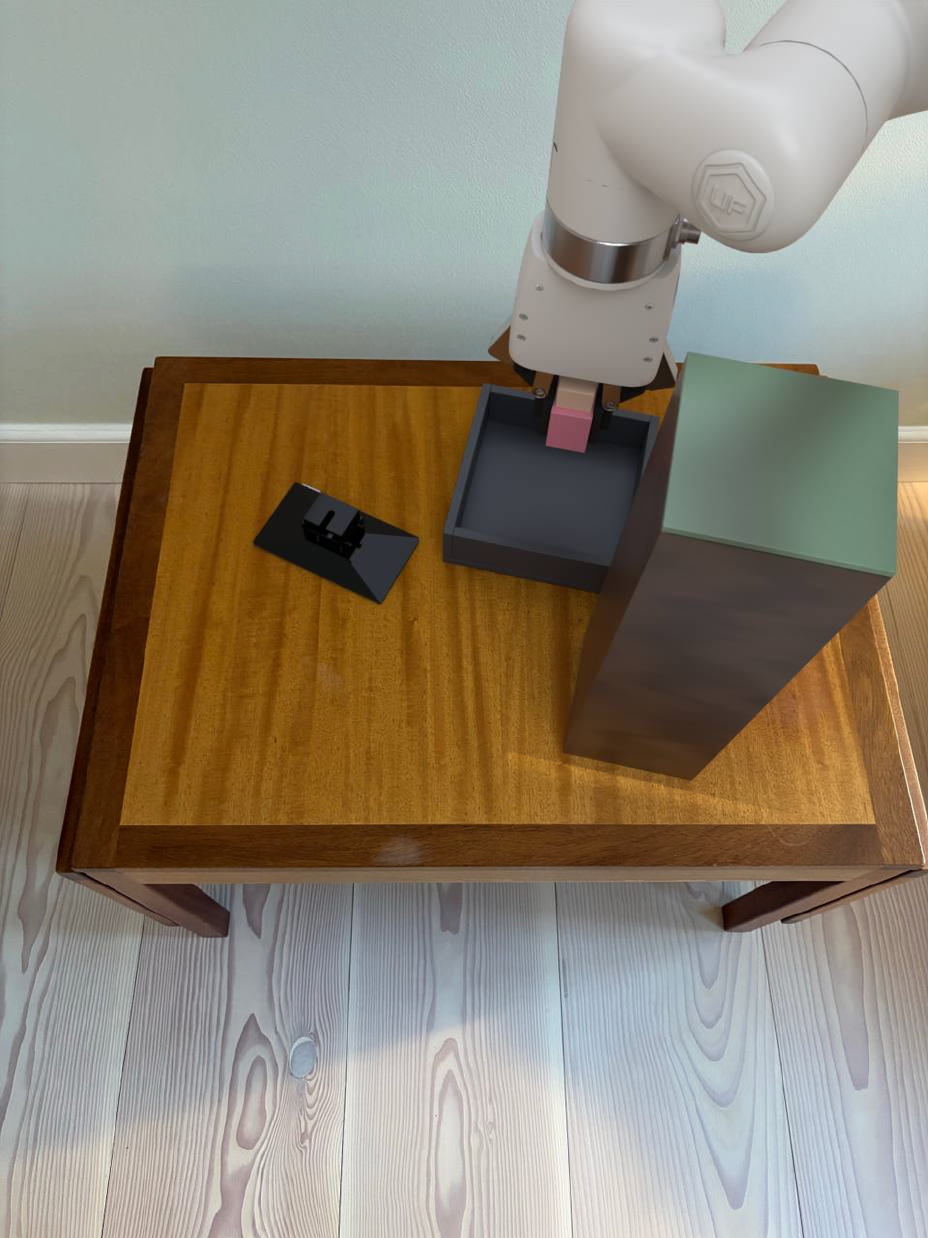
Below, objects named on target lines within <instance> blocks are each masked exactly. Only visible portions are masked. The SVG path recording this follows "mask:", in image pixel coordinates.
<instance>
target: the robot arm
mask: <svg viewBox="0 0 928 1238" xmlns="http://www.w3.org/2000/svg"><path fill="white" fill-rule="evenodd" d="M726 26H727V25H726V19H725V13H724V10H723V8H722V6H721V4H720V2H719V0H574V2H573V4H572V6H571V8H570V11H569V14H568V17H567V20H566V25H565V31H564V37H563V43H562V52H561V54H562V55H561V60H560V61H561V63H560V71H559V81H558V88H557V90H558V91H557V97H556V107H555V115H554V122H553V123H554V125H553V132H552V133H553V134H552V143H551V150H550V161H549V169H548V179H547V188H546V195H545V203H544V209H543V210H542V211H540V212H539V213H538V214H537V215H536V216H535V218H534V220H533V222H532V224H531V227H530V230H529V233H528V236H527V238H526V243H525V246H524V249H523V254H522V258H521V263H520V267H519V273H518V278H517V284H516V290H515V294H514V300H513V301H514V302H513V309H512V314H510V316H509V317H508V318H507V319H506V320H505V321H504V322H503V323H502V324H501V325H500V327H499V328H498V329H497V330H496V331H495V332H494V333H493V334H492V336H491V338H490V342H489V344H488V349H487V353H488V354H489V355H490V356H491V357H493V358H494V359H496V360H498V361H499V362H501V363H503V364H504V365H507V366H509V367H510V366H511V367H512V369H513V371H514V372H515V373H516V375H518V376H519V377H520V378H521V379H522V380H523V381H524V382H525V383H526V384H528V386H530V388H531V389H530V392H531V394H532V395H533V396H534V397H535V402H534V410H533V417H537V418H541V422H540V429H539V435H544V436H545V435H546V434H548V427H549V421H550V415H551V410H552V407H553V403H554V399H555V394H556V390H557V385H558V381H559V376H560V375H561V376H566V377H572V378H577V379H583V380H589V381H594V382H599V384H598V389H597V394H596V400H595V405H594V410H593V418H592V423H591V427H590V432H589V436H588V440H587V442H589V444H593V445H596V440H597V436H598V432H599V429H602V430H608V429H609V425H610V421H611V417H612V414H613V411H616V410H617V409H620V404H623V403H624V402H627V401H630V400H633V399H634V398H637V397H640V396H642V395H644V393H645V392H646V391H649V392H653V391H655V392H656V391H660V390H667V389H671V388H675V385H676V382H677V380H678V374H679V368H678V365H677V363H676V360H675V357H674V355H673V353H672V351H671V348H670V346H669V343H668V340H667V338H668V334H669V331H670V326H671V322H672V317H673V314H674V307H675V303H676V299H677V294H678V288H679V281H680V275H681V267H682V251H683V249H682V245H685V244H686V243H687V244H693V245H699V242H700V239H701V234H702V233H703V234H705V235H706V236H707V237H710V238H711V239H712V240H714V241H715V242H718V243H719V244H721V245H723V246H725V247H727V248H730V249H732V250H736V251H739V252H742V253H747V254H769V253H773V252H777V251H780V250H783V249H785V248H788V247H789V246H791V245H793V244H795V243H796V242H797V241H799V240H800V239H801V238H803V237H804V236H805V235H806V234H807V233H808V232H809V231H810V230H811V229H812V228H813V227H814V225H816V224H817V222H818V221H819V220H820V219H821V217H822V216H823V215H824V213H825V212H826V210H827V209H828V207H829V205H830V204H831V202H832V201H833V200H834V198H835V197H836V195H838V194H837V193H838V192H839V191H840V189H841V188H842V187H843V185H844V183H846V181H847V179H848V178H849V176H850V175H851V173H852V171H853V170H854V169H855V167H856V166H857V165H858V163H859V161H860V160H861V159H862V157H863V155H864V154H865V153H866V151H867V150H868V148H869V146H870V145H871V144H872V142H873V141H874V139H875V138H876V136H877V135H878V133H879V131H880V130H881V129H882V128H883V126H884V125H885V123H886V122H889V121H892V120H895V119H898V118H902V117H905V116H909V115H914V114H917V113H922V112H927V111H928V0H786V1H785V2H784V3H783V4H782V5H781V6H780V7H779V8H778V9H777V11H776V12H775V13H774V14H773V15H772V16H771V17H770V18H769V19H768V20H767V21H766V23H765V24H764V25H763V26H762V27H761V28H760V30H759V31H758V32H757V33H756V34H755V35H754V37H753V38H751V40H750V41H749V43H748V44H747V45H746V46H745V47H744V48H743V50H742V51H741V52H737V53H733V54H730V53H728V52H726V50H725V47H726V43H727V41H726V40H727V27H726Z"/></svg>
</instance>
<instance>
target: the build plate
mask: <svg viewBox="0 0 928 1238" xmlns="http://www.w3.org/2000/svg"><path fill="white" fill-rule="evenodd" d="M252 543H253V545H254V547H256V548H259V549H260V550H264V551H265V552H267V553H269V554H272V555H274V556H275V557H278V558H280V559H282V560H284V561H287V563H288V562H289V563H291V564H292V565H295V566H296V567H299V568H301V569H303V570H305V571H308V572H309V573H312V574H314V575H316V576H317V577H321V578H322V579H324V580H327V581H328V582H331V583H332V584H334V585H337V586H339V587H341V588H343V589H345V590H348V591H350V592H352V593H354V594H356V595H359V596H361V597H363V598H365V599H366V600H369V601H371V602H373V603H375V604H378V605H381V604H382V603H383V602H384V600H385V598H386V597H387V595H388V594H389V592H390V591H391V589H392V587H393V585H394V584H395V582H396V581H397V579H398V578H399V576H400V574H401V572H402V571H403V569H404V568H405V566H406V565H407V563H408V561H409V559H410V558H411V556H412V555H413V553H414V551H415V550H416V548H417V546H418V544H419V543H420V537H419V536H417V535H414V534H413V533H410V532H409V531H406V530H404V529H401V528H399V527H397V526H394V525H393V524H390V523H388V522H386V521H384V520H381V519H380V518H377V517H375V516H373V515H371V514H368V513H366V512H363V511H361V510H360V509H359V508H357V507H355V506H353V505H350V504H348V503H346V502H343V501H342V500H340V499H338V498H335V497H333V496H330V495H329V494H326V493H324V492H322V491H320V490H319V489H316V488H314V487H312V486H310V485H307V484H306V483H300V482H297V481H296V482H293V484H292V485H291V487H290V488H289V490H288V491H287V492H286V493H285V495H284V496H283V498H282V499H281V501H280V502H279V504H278V505H277V506H276V508H275V509H274V511H273V512H272V513H271V515H270V516H269V517H268V519H267V521H266V522H265V523H264V525H263V526H262V528H261V529H260V530H259V532H258V533H257V534H256V536H255V538H254V539H253V541H252Z"/></svg>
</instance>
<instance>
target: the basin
mask: <svg viewBox="0 0 928 1238" xmlns="http://www.w3.org/2000/svg"><path fill="white" fill-rule="evenodd" d="M534 402H535V397H534V396H533V395H532V394H531V391H528V390H523V389H517V388H512V387H506V386H502V385H497V384H491V383H485V382H483V383H482V385H481V389H480V392H479V396H478V400H477V404H476V406H475V411H474V413H473V418H472V423H471V425H470V430H469V434H468V437H467V440H466V444H465V448H464V452H463V455H462V458H461V459H462V460H461V463H460V467H459V471H458V475H457V478H456V482H455V486H454V490H453V493H452V497H451V500H450V505H449V509H448V512H447V516H446V520H445V523H444V527H443V532H442V562H443V563H448V564H452V565H457V566H461V567H467V568H472V569H475V570H476V569H477V570H482V571H486V572H491V573H495V574H496V573H497V574H501V575H505V576H511V577H515V578H520V579H526V580H530V581H533V582H534V581H535V582H540V583H545V584H550V585H554V586H560V587H564V588H569V589H573V590H579V591H583V592H588V593H593V594H598V595H599V594H600V591H601V588H602V586H603V583H604V580H605V577H606V575H607V572H608V569H609V566H610V564H611V561H612V558H613V555H614V553H615V550H616V547H617V544H618V542H619V539H620V536H621V533H622V531H623V528H624V525H625V522H626V520H627V517H628V514H629V511H630V509H631V506H632V503H633V500H634V498H635V495H636V492H637V489H638V487H639V484H640V481H641V478H642V476H643V473H644V470H645V467H646V465H647V462H648V459H649V456H650V454H651V451H652V448H653V445H654V443H655V440H656V437H657V434H658V432H659V428H660V427H659V426H660V420H661V416H658V415H652V414H647V413H641V412H637V411H632V410H628V409H622V408H618V409H617V410H616V411H613V414H612V417H611V421H610V425H609V429H608V430H602V429H599V432H598V436H597V440H596V445H593V444H589V442H587V445H586V449H585V453H582V452H577V451H572V450H566V449H561V448H555V447H550V446H546V440H547V434H546V435H545V436H544V435H539V429H540V422H541V418H537V417H533V410H534Z"/></svg>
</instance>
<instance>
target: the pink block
mask: <svg viewBox="0 0 928 1238" xmlns="http://www.w3.org/2000/svg"><path fill="white" fill-rule="evenodd" d="M598 384H599V382H594V381H589V380H583V379H577V378H572V377H566V376H561V375H560V376H559V381H558V385H557V390H556V394H555V399H554V403H553V407H552V410H551V415H550V421H549V427H548V434H547V440H546V446H550V447H555V448H561V449H566V450H572V451H577V452H582V453H585V449H586V445H587V440H588V436H589V432H590V427H591V423H592V418H593V410H594V405H595V400H596V394H597V389H598Z"/></svg>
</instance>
